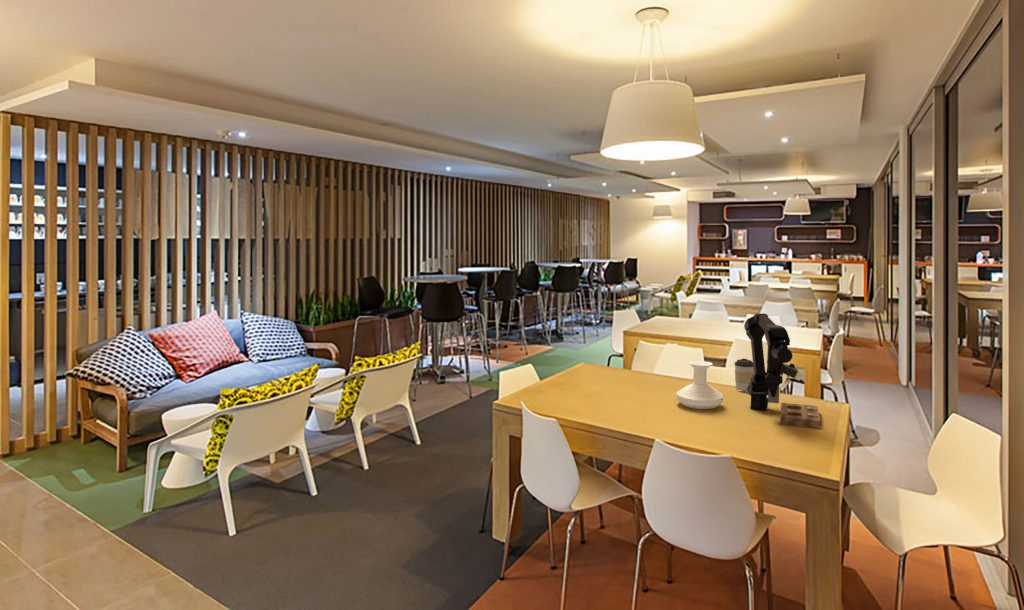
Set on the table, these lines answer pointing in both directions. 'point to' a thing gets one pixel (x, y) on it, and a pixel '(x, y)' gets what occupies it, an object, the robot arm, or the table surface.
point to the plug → (773, 399)
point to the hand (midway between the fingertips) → (773, 395)
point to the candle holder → (699, 389)
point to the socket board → (800, 415)
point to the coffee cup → (743, 373)
